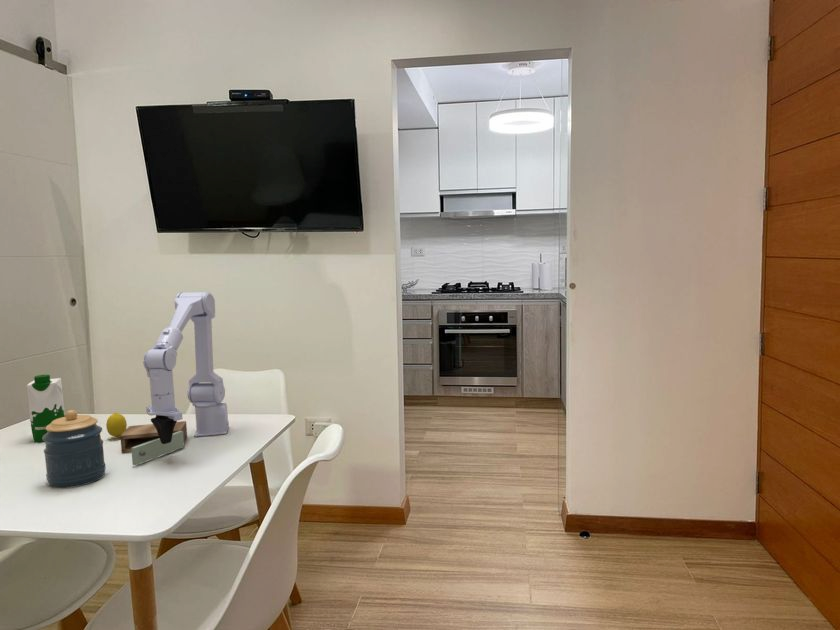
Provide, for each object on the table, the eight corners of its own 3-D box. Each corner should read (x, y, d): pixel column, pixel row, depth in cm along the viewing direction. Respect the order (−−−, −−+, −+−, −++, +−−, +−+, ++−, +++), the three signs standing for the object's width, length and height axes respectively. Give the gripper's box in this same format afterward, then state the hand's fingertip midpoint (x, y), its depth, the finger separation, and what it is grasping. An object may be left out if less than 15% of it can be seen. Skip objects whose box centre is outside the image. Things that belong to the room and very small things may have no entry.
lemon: (131, 435, 187) (129, 410, 186) (120, 441, 182) (118, 415, 181) (114, 435, 188) (112, 410, 187) (103, 441, 182) (101, 415, 181)
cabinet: (187, 437, 183) (186, 421, 183) (181, 447, 174) (180, 430, 173) (130, 442, 180) (129, 426, 179) (121, 453, 170) (120, 435, 170)
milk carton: (29, 444, 181) (22, 378, 179) (38, 435, 190) (31, 373, 188) (62, 440, 184) (56, 376, 182) (69, 432, 193) (63, 370, 190)
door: (181, 446, 173) (180, 430, 173) (186, 447, 172) (185, 431, 172) (132, 464, 159) (131, 447, 159) (137, 465, 158) (136, 448, 158)
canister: (112, 478, 151) (106, 409, 149) (52, 493, 142) (45, 420, 140) (99, 465, 161) (92, 400, 159) (42, 479, 152) (35, 410, 150)
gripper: (134, 393, 162) (138, 442, 164) (162, 399, 154) (166, 451, 155) (158, 387, 168) (162, 435, 169) (188, 394, 159) (191, 444, 161)
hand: (166, 442), depth 162 cm, fingers closed
